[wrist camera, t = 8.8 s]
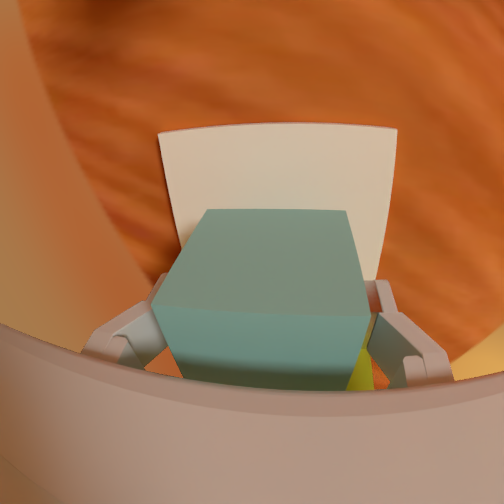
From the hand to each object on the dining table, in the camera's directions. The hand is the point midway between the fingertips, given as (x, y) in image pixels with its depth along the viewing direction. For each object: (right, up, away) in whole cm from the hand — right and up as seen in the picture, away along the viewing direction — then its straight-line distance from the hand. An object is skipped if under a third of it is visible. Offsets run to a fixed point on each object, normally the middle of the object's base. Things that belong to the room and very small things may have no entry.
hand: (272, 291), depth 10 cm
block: (0, +1, +1) cm, 2 cm away
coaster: (+1, +2, +3) cm, 4 cm away
